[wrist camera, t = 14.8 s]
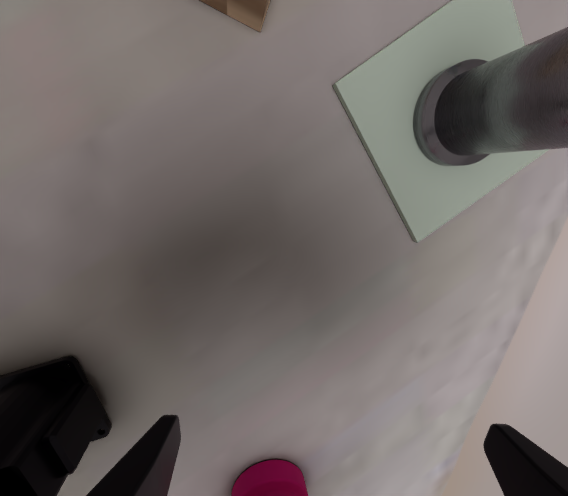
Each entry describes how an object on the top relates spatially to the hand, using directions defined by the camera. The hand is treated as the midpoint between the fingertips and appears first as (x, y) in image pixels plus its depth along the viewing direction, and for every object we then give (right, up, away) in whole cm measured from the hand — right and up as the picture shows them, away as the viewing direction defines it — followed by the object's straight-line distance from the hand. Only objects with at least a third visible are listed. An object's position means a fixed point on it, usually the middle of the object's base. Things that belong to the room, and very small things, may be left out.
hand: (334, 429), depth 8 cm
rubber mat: (+10, +14, +11) cm, 20 cm away
